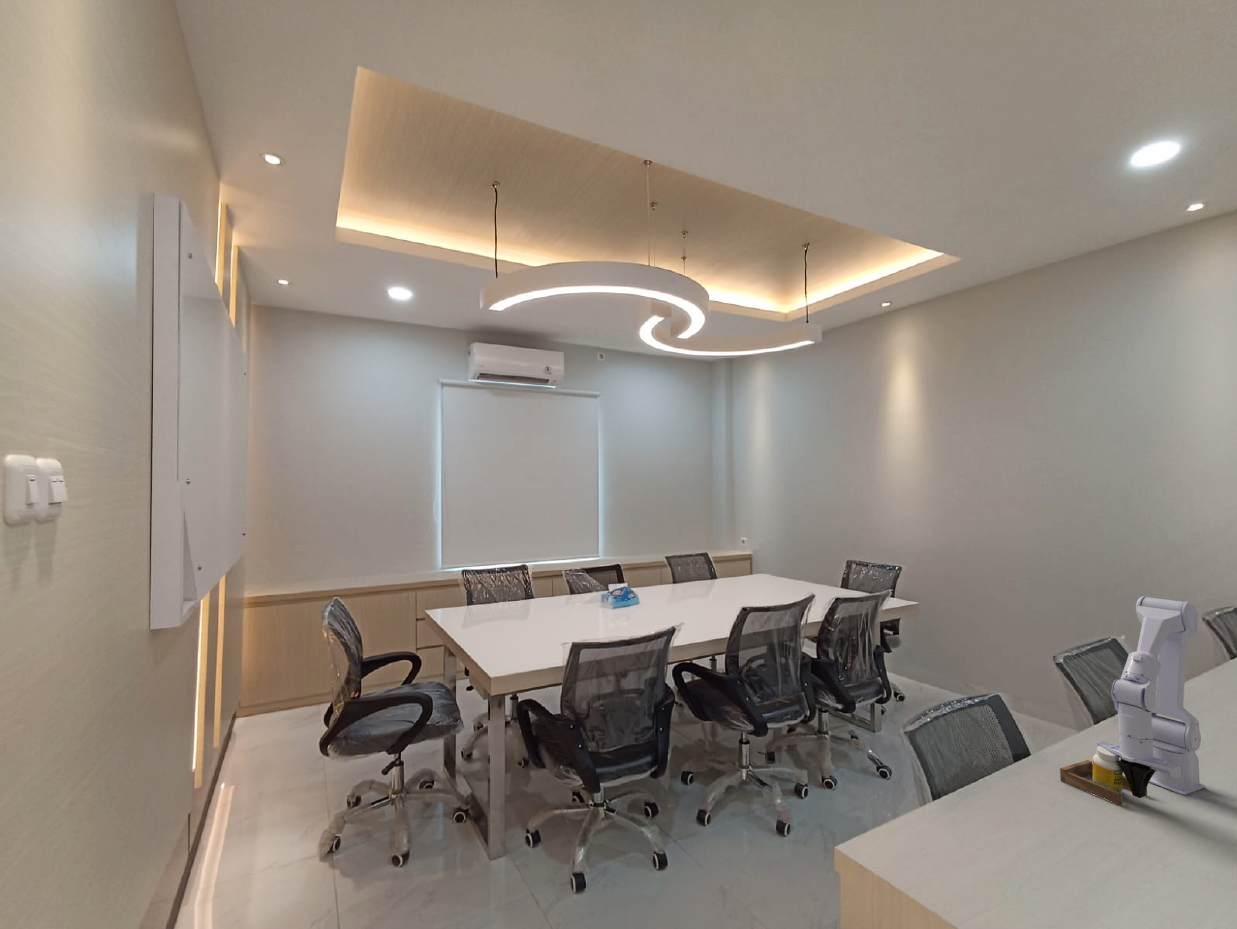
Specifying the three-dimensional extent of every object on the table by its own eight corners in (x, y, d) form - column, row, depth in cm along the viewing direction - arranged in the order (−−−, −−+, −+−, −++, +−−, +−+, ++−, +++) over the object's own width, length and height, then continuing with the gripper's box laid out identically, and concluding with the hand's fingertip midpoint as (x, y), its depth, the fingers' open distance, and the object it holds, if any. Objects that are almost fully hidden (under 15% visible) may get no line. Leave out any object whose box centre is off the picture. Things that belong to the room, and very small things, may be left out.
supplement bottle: (1098, 778, 137) (1098, 740, 136) (1126, 790, 133) (1127, 751, 132) (1088, 786, 135) (1088, 749, 134) (1116, 799, 130) (1117, 760, 129)
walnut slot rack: (1087, 772, 142) (1087, 760, 143) (1147, 795, 131) (1146, 782, 132) (1060, 780, 138) (1060, 768, 138) (1119, 805, 127) (1118, 792, 127)
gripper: (1088, 725, 134) (1091, 784, 134) (1166, 751, 121) (1169, 816, 120) (1106, 720, 137) (1108, 778, 136) (1184, 745, 124) (1187, 809, 123)
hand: (1138, 796), depth 128 cm, fingers closed
